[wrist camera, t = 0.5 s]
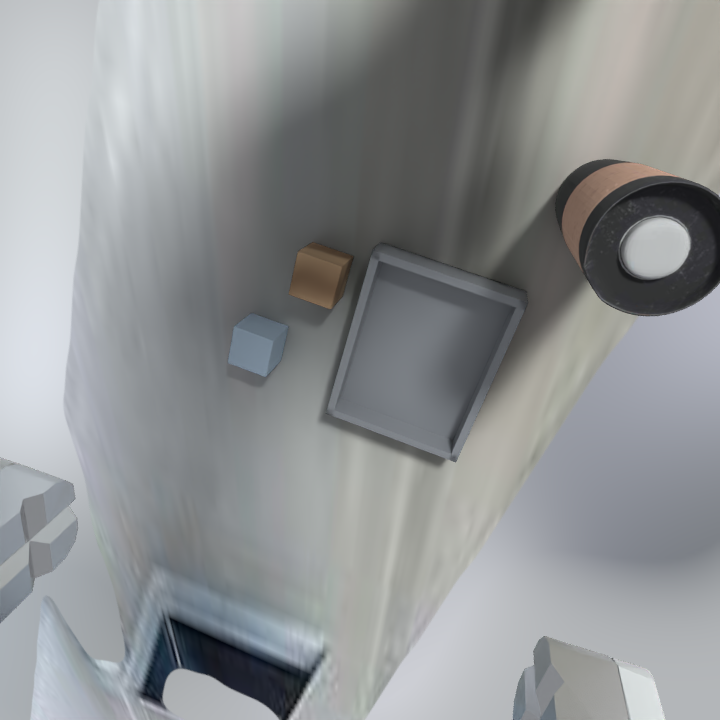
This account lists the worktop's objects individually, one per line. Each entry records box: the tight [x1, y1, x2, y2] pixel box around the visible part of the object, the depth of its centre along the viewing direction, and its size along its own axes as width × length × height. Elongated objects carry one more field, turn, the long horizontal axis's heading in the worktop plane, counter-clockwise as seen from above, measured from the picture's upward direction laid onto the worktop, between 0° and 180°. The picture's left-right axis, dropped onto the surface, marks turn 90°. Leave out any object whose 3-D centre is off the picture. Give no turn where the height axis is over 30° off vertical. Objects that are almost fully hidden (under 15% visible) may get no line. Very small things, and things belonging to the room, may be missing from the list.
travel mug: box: [556, 159, 720, 316], centre depth 37 cm, size 8×8×20 cm
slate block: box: [228, 313, 289, 377], centre depth 58 cm, size 4×4×4 cm
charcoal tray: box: [326, 242, 528, 462], centre depth 54 cm, size 19×15×4 cm
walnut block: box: [289, 242, 354, 309], centre depth 53 cm, size 4×4×4 cm
